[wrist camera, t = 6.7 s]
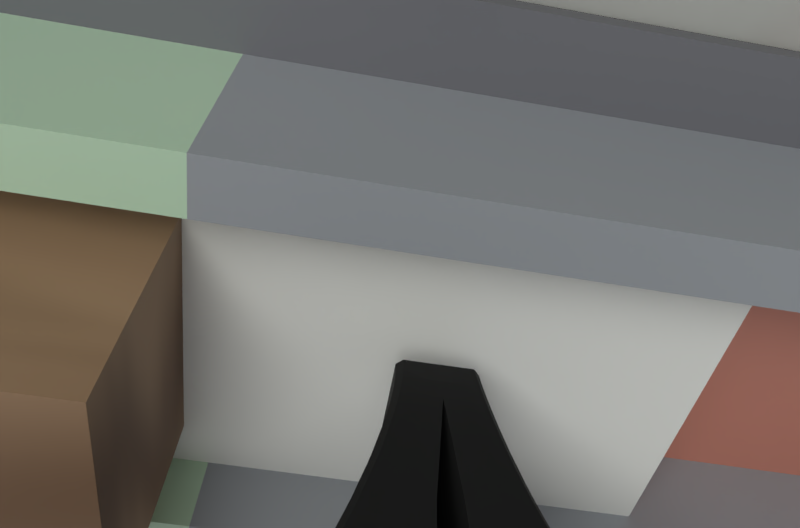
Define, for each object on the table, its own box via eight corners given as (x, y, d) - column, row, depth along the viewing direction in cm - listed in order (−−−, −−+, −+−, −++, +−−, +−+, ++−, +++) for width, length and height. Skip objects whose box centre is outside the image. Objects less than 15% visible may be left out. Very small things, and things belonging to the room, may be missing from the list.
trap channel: (861, 531, 20) (945, 683, 17) (-404, 366, 17) (-589, 507, 14) (1229, 129, 13) (1495, 260, 10) (-810, -240, 10) (-1355, -228, 7)
